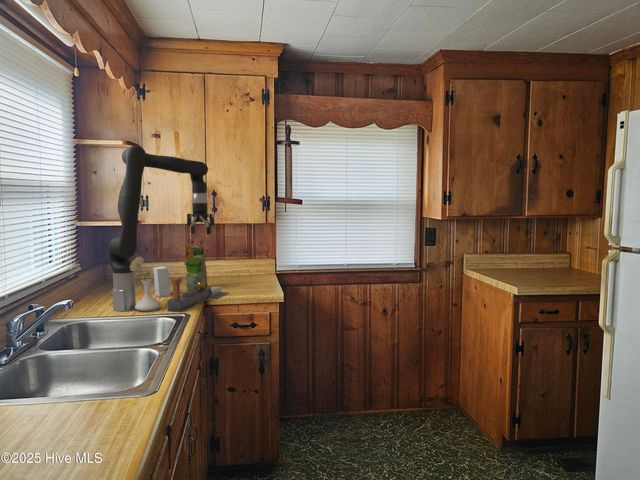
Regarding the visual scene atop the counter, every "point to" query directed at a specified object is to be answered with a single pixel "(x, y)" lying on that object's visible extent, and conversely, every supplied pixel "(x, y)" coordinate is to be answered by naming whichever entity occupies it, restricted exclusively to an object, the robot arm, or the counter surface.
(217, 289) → the lever cap
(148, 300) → the flower in vase
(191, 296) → the hand plane
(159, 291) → the skincare box
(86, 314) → the counter surface
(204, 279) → the green plant in glass
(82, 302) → the counter surface
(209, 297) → the rubber mat
